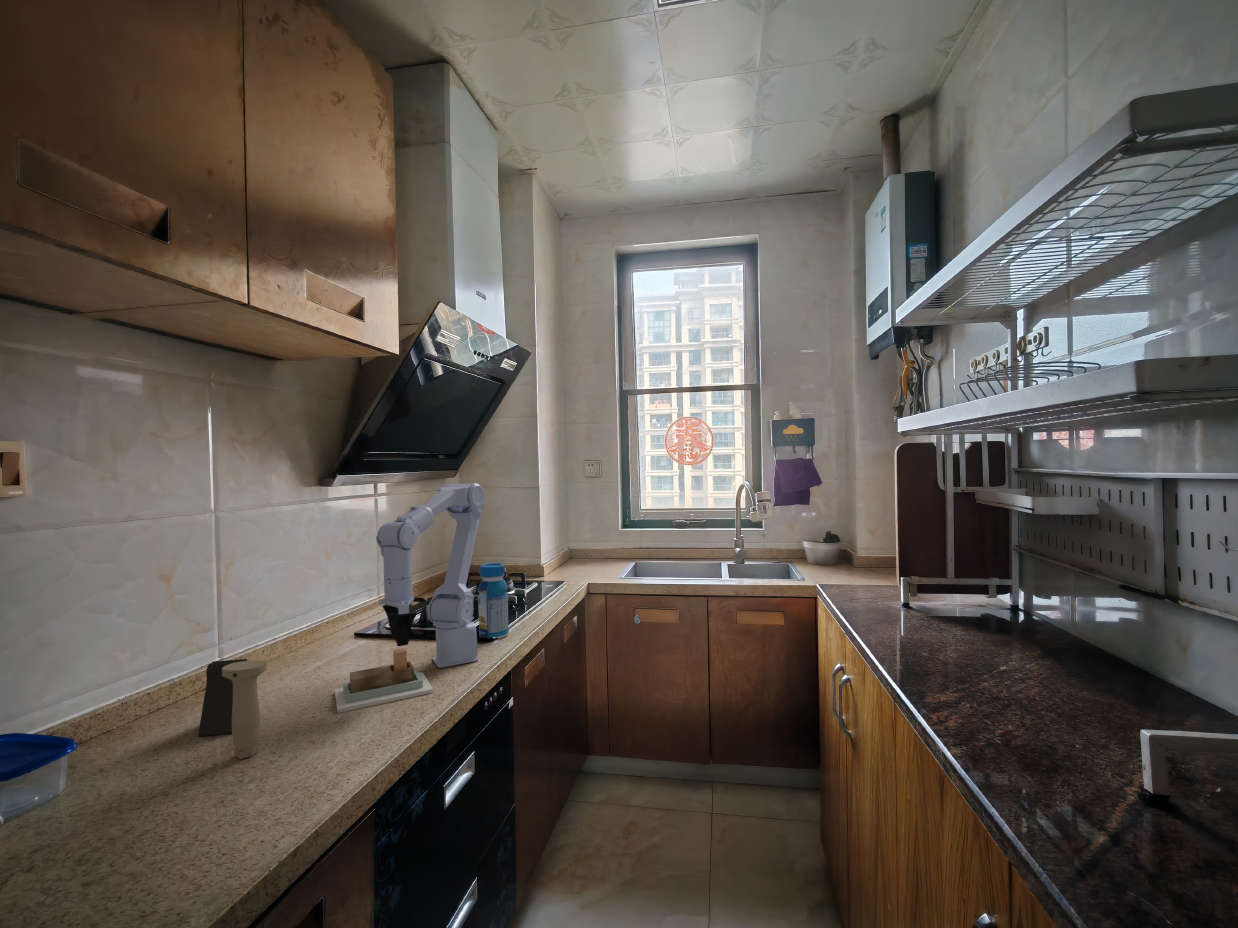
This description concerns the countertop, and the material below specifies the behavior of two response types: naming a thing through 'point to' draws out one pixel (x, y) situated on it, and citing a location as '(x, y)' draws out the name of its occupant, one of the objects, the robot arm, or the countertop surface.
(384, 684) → the tan box sleeve
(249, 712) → the handle
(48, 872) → the countertop surface
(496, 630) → the beverage bottle
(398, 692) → the cradle
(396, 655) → the tan square block
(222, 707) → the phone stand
